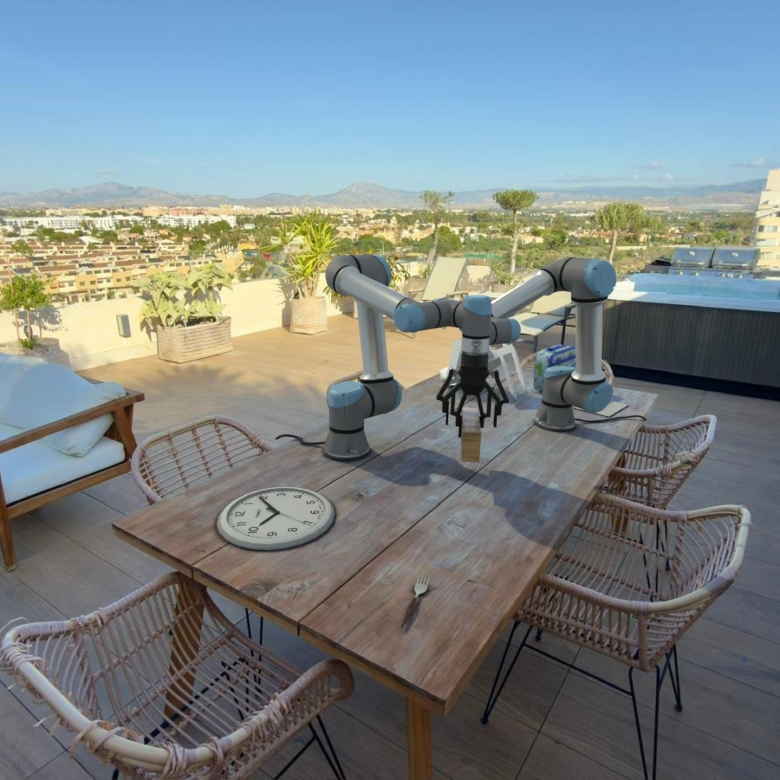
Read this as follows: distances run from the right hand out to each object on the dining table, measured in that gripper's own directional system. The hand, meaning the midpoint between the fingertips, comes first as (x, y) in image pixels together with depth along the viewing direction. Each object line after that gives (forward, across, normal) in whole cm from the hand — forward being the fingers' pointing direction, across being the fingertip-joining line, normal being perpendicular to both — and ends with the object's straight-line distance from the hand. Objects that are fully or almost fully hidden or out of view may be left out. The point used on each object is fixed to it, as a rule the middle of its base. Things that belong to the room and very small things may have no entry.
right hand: (468, 436), depth 166 cm
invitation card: (+10, +59, +67) cm, 90 cm away
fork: (+10, -12, -68) cm, 70 cm away
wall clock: (+10, -50, -40) cm, 65 cm away
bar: (+1, 0, -7) cm, 7 cm away
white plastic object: (+10, +7, +79) cm, 80 cm away
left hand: (-9, 0, -14) cm, 17 cm away
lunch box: (+10, +43, +90) cm, 100 cm away
